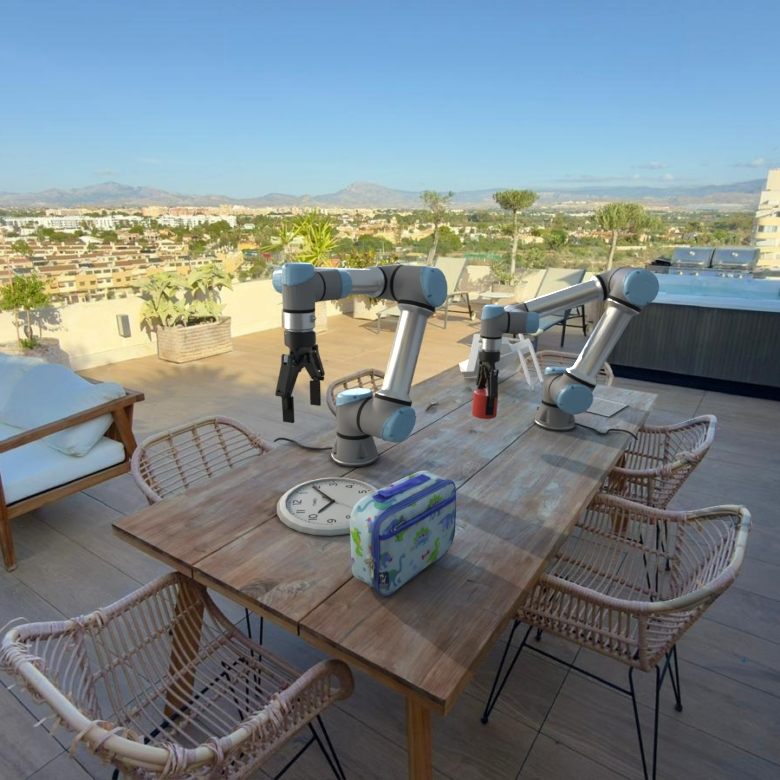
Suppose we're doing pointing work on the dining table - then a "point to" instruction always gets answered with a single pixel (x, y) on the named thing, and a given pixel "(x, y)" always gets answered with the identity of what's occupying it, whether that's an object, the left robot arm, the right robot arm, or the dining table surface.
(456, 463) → the dining table surface
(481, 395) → the canister
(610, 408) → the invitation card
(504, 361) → the white plastic object
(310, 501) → the wall clock
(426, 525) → the lunch box
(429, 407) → the fork
